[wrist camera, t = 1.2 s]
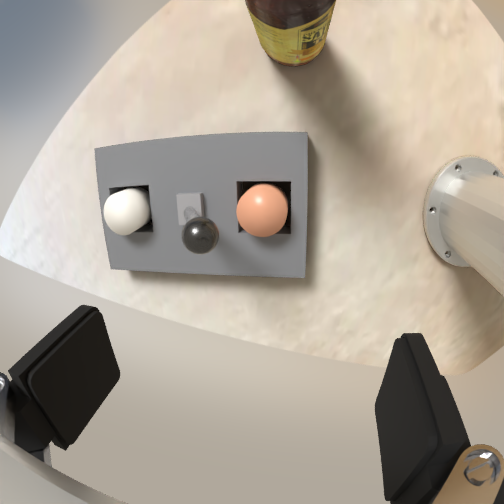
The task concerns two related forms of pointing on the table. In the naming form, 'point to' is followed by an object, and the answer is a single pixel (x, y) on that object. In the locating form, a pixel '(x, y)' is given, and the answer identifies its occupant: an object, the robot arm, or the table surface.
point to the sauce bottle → (291, 28)
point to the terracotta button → (262, 209)
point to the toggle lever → (199, 232)
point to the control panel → (207, 201)
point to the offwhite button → (128, 210)
